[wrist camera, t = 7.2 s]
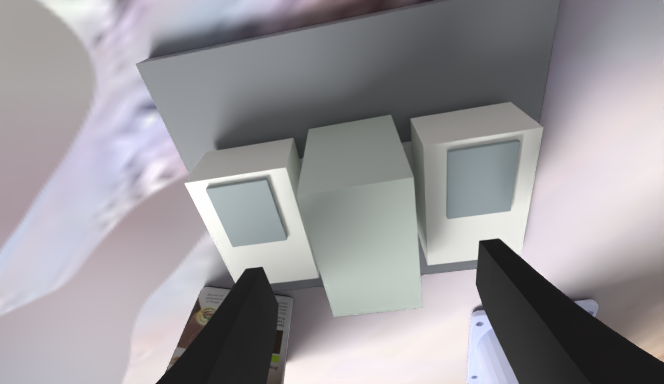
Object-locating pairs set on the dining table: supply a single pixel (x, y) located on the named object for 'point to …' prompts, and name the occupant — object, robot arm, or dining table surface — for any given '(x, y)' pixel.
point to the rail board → (357, 104)
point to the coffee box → (207, 307)
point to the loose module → (361, 216)
